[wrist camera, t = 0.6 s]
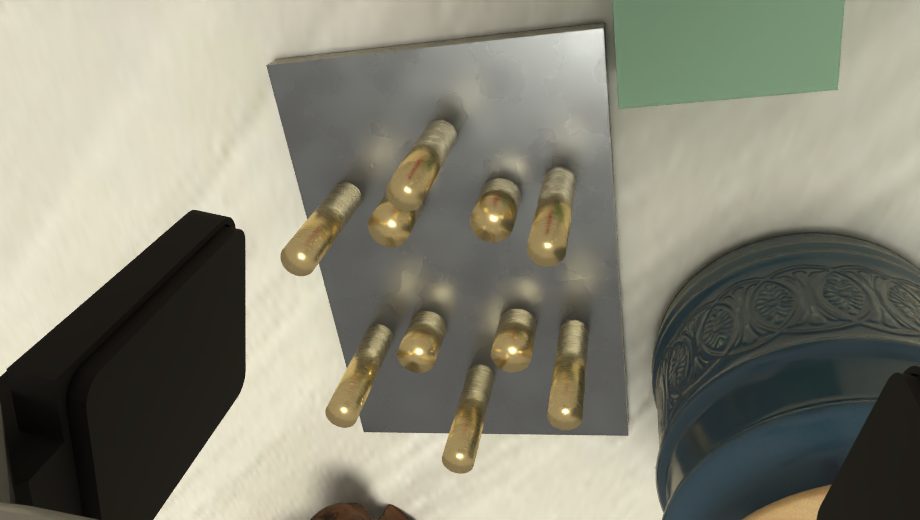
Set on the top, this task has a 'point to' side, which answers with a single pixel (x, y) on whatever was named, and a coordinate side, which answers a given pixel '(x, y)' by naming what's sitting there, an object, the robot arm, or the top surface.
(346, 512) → the brown curved shards
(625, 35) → the green boxy piece
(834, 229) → the top surface
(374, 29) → the top surface
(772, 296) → the canister
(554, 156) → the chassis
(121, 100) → the top surface
